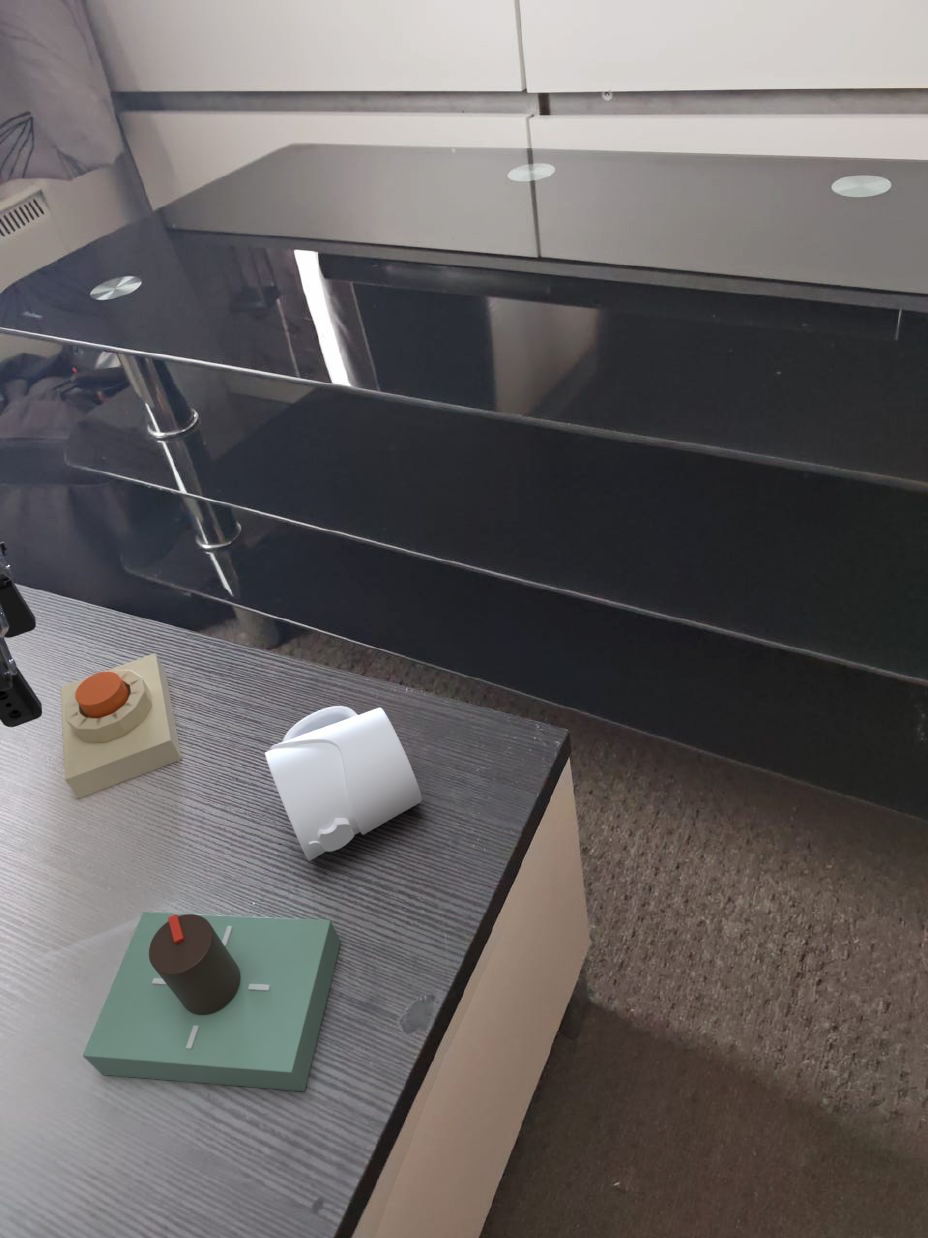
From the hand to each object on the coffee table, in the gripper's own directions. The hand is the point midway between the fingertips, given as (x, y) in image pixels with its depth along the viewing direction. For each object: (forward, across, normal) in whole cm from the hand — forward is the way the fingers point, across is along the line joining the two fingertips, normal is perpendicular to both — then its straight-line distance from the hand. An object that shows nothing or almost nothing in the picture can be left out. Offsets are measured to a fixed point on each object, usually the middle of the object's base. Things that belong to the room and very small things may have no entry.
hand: (23, 672), depth 57 cm
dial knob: (+18, +14, +3) cm, 23 cm away
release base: (+22, -16, 0) cm, 27 cm away
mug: (+22, +2, +16) cm, 27 cm away
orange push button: (+18, -16, 0) cm, 24 cm away
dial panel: (+21, +14, +3) cm, 26 cm away
